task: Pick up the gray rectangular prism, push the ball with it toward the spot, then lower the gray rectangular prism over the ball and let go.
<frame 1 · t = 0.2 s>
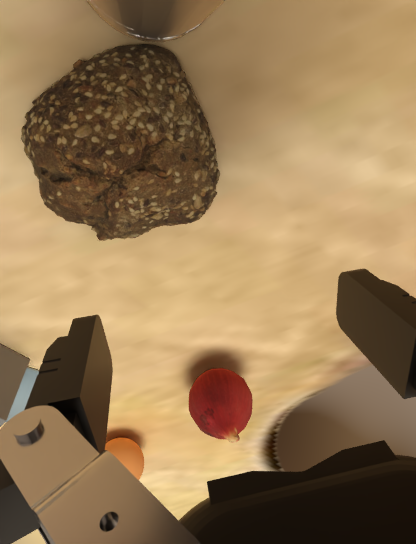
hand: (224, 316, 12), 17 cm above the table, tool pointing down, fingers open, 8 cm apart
bread roll: (123, 154, 26), on the table
ball: (119, 464, 36), on the table
spot: (17, 394, 33), on the table
onion: (212, 371, 36), on the table
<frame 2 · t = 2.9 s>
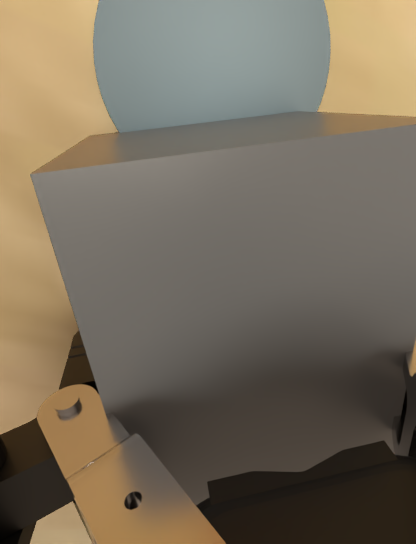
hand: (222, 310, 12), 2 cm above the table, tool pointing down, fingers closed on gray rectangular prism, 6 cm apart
gray rectangular prism: (213, 287, 14), on the table, touching gripper
spot: (216, 66, 11), on the table
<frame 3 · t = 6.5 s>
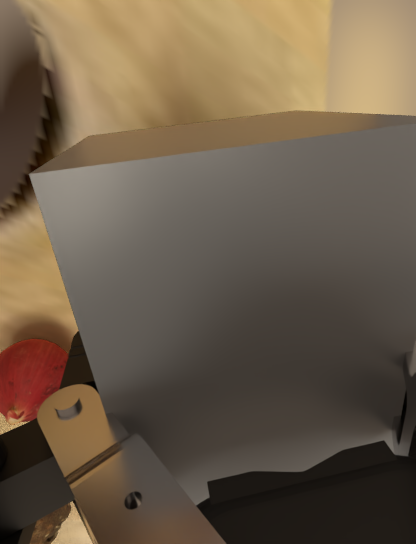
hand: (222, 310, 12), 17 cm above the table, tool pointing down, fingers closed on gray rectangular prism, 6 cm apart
bread roll: (7, 506, 39), on the table
gray rectangular prism: (213, 287, 14), point 15 cm above the table, touching gripper
onion: (44, 347, 31), on the table
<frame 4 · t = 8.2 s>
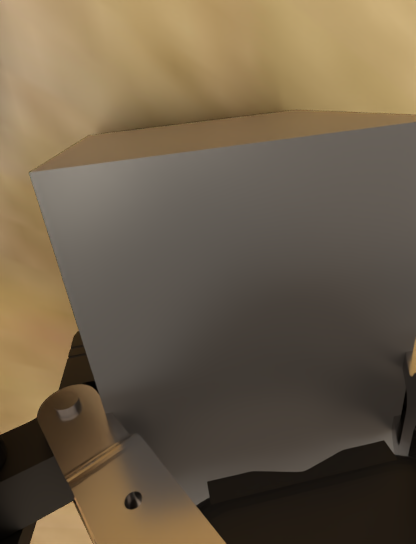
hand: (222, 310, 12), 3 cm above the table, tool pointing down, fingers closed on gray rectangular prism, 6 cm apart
gray rectangular prism: (213, 286, 14), point 1 cm above the table, touching gripper
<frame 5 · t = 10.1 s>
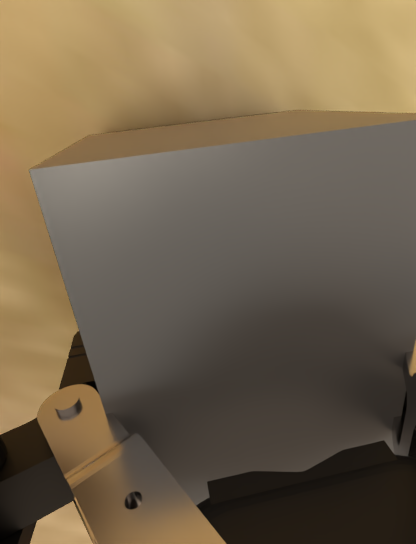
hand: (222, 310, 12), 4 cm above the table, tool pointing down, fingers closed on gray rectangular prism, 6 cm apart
gray rectangular prism: (213, 286, 14), point 2 cm above the table, touching gripper
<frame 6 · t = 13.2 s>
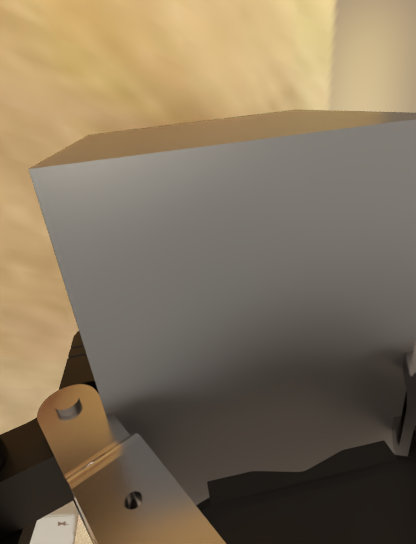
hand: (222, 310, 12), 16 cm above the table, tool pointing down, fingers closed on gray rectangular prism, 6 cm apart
gray rectangular prism: (213, 286, 14), point 14 cm above the table, touching gripper
product box: (54, 458, 35), on the table
when the fingers open (2 cm above the table, at t = 16.1 s): gray rectangular prism stays where it is, on the table.
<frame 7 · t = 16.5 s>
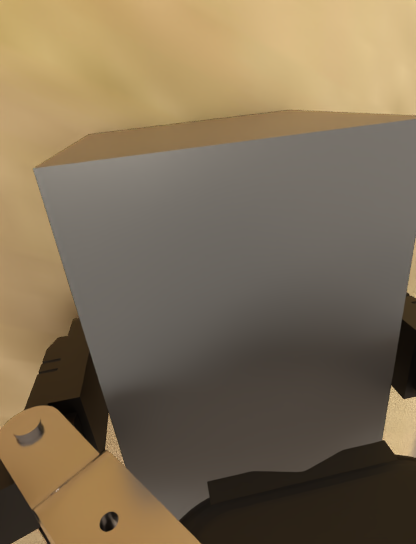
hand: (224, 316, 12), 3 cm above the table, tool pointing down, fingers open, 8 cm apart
gray rectangular prism: (210, 282, 14), on the table
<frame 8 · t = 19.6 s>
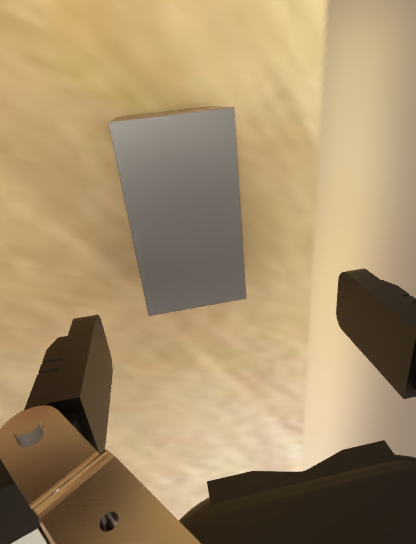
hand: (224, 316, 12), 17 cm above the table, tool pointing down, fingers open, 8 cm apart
gray rectangular prism: (176, 196, 27), on the table
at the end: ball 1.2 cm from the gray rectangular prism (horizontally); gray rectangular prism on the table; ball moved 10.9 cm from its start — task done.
